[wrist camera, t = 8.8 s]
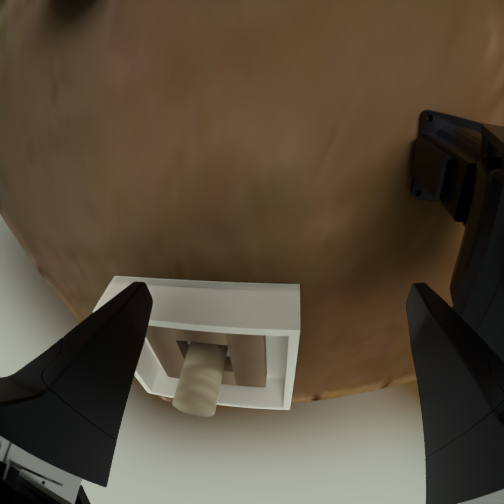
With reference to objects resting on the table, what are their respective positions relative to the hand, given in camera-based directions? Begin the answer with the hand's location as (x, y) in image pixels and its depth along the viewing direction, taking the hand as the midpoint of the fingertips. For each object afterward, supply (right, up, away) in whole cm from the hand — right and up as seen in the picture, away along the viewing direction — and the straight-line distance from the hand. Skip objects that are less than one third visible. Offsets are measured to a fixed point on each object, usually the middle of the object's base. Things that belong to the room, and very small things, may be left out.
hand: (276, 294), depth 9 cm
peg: (-5, -8, +21) cm, 23 cm away
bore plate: (-5, -8, +21) cm, 23 cm away
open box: (-5, -8, +21) cm, 23 cm away
